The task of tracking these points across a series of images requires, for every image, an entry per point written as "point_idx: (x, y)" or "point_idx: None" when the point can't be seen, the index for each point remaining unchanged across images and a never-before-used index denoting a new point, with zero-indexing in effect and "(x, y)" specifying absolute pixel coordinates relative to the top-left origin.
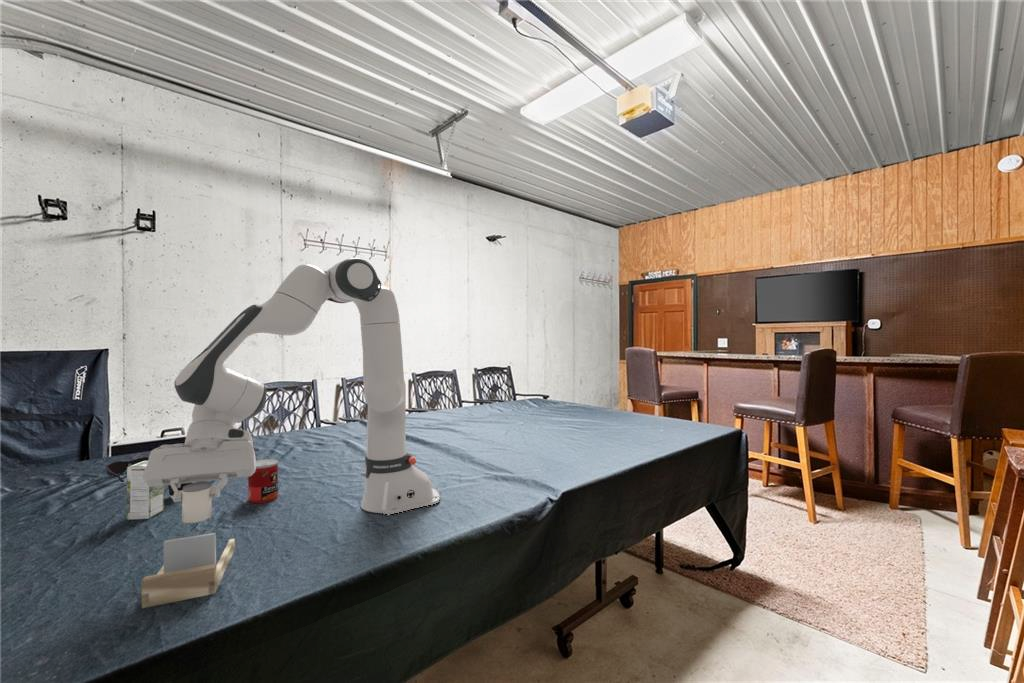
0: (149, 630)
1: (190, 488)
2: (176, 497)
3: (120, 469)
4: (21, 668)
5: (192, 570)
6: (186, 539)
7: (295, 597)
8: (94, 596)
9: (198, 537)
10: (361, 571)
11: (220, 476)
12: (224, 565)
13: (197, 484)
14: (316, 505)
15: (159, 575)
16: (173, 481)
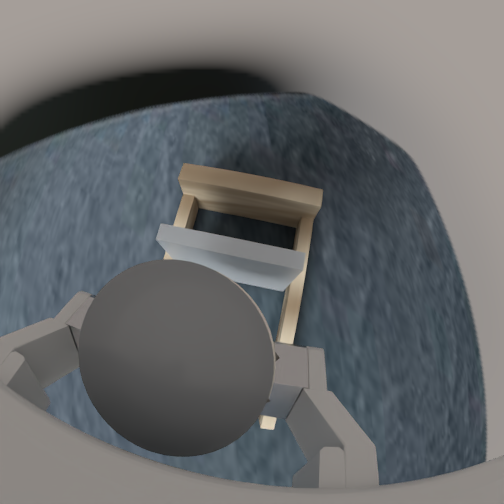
0: (284, 142)
1: (213, 294)
2: (303, 346)
3: None
4: (405, 157)
5: (225, 175)
6: (240, 239)
7: (101, 124)
8: (395, 320)
9: (205, 233)
10: (25, 151)
11: (11, 366)
12: None
13: (165, 386)
14: None
15: (291, 192)
16: (356, 464)
